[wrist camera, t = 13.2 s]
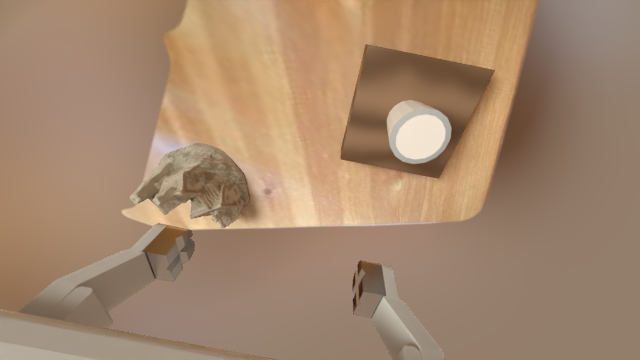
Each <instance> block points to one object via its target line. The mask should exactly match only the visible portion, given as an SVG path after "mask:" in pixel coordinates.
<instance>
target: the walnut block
mask: <svg viewBox="0 0 640 360" xmlns="http://www.w3.org/2000/svg"><path fill="white" fill-rule="evenodd" d="M494 71H495V70H492V69H487V68H482V67H477V66H472V65H467V64H462V63H457V62H452V61H447V60H442V59H437V58H432V57H427V56H422V55H417V54H412V53H407V52H402V51H397V50H392V49H387V48H382V47H377V46H372V45H366V46H365V50H364V54H363V58H362V62H361V67H360V71H359V75H358V79H357V84H356V88H355V92H354V96H353V100H352V105H351V109H350V113H349V117H348V121H347V126H346V130H345V134H344V138H343V143H342V147H341V159H342V160H347V161H352V162H357V163H362V164H367V165H373V166H378V167H383V168H388V169H393V170H398V171H403V172H408V173H413V174H418V175H423V176H428V177H433V178H438V179H439V177H440V175H441V173H442V171H443V169H444V167H445V165H446V163H447V161H448V159H449V158H450V156H451V154H452V152H453V150H454V148H455V146H456V144H457V142H458V140H459V138H460V136H461V134H462V133H463V131H464V129H465V127H466V125H467V123H468V121H469V119H470V117H471V115H472V113H473V111H474V109H475V108H476V106H477V104H478V102H479V100H480V98H481V96H482V94H483V92H484V90H485V88H486V86H487V85H488V83H489V81H490V79H491V77H492V75H493V73H494ZM407 100H414V101H418V102H421V103H423V104H425V105H427V106H430V107H432V108H434V109H436V110H439V111H440V112H441V113H442V114H444V115H445V116H446V117H447V118H448V120H449V123H450V125H451V139H450V141H449V143H448V145H447V146H446V148H445V150H444V151H443V152H442V153H440V154H439V155H438V156H437V157H436V158H434V159H432V160H430V161H427V162H425V163H418V164H411V163H407V162H403V161H401V160H400V159H399V158H397V157H396V156H395V155H394V153H393V151H392V150H391V148H390V143H389V137H388V130H387V117H388V115H389V112H390V111H391V110H392V108H393V107H394V106H395V105H397V104H399V103H400V102H402V101H407Z"/></svg>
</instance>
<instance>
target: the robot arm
mask: <svg viewBox="0 0 640 360" xmlns="http://www.w3.org/2000/svg"><path fill="white" fill-rule="evenodd" d="M192 235H193V234H192V230H189V229H184V228H179V227H175V226H170V225H165V224H160V223H158V224H156V225H154V226H153V227H152V228H151V229H150V230H149V231H148V232H147V233H146V234H145V235H144V236H143V237H142V238H141V239H140V240H139V241H138V242H137V243H136V244H135V245H134V246H133V247H132V248H131V249H130V250H129V249H126V250H123V251H121V252H119V253H116V254H114V255H112V256H109V257H107V258H105V259H103V260H100V261H98V262H96V263H94V264H91V265H89V266H87V267H84V268H82V269H80V270H78V271H75V272H73V273H71V274H69V275H66V276H64V277H62V278H59V279H57V280H55V281H54V282H53V283H52V284H50V285H49V286H48V287H47V288H46V289H44V290H43V291H42V292H41V293H40V294H38V295H37V296H36V297H35V298H34V299H32V300H31V301H30V302H29V303H28V304H26V305H25V306H24V307H23V308H22V309H20V311H18V312H13V311H8V310H2V309H0V360H276V359H271V358H266V357H260V356H254V355H249V354H244V353H238V352H232V351H227V350H222V349H216V348H211V347H205V346H200V345H194V344H188V343H183V342H178V341H172V340H167V339H161V338H156V337H150V336H145V335H139V334H134V333H129V332H123V331H118V330H112V329H109V328H110V326H111V325H112V324H113V319H112V318H111V316H110V315H109V313H108V311H110V310H111V309H112V308H114V307H116V306H117V305H119V304H120V303H121V302H123V301H124V300H126V299H127V298H129V297H130V296H132V295H133V294H135V293H136V292H138V291H139V290H141V289H142V288H144V287H145V286H147V285H148V284H150V283H151V282H153V281H154V280H155V279H159V280H166V281H175V279H176V278H177V276H178V275H179V274H180V272H181V271H182V270H183V266H182V264H184V263H186V262H188V261H189V260H190V258H191V257H192V255H193V252H194V247H195V244H194V241H193V240H192V239H191V237H192ZM357 267H358V270H357V271H355V273H354V277H353V289H352V290H353V292H354V294H355V296H354V298H353V315H358V316H363V317H368V318H372V319H371V320H372V322H373V324H374V326H375V327H376V329H377V331H378V333H379V335H380V337H381V339H382V340H383V342H384V344H385V346H386V348H387V350H388V351H389V354H390V355H391V357H392V359H393V360H445V357H444V354H443V351H442V350H441V349H440V347H439V346H438V345H437V343H436V342H435V341H434V340H433V338H432V337H431V336H430V334H429V333H428V332H427V331H426V329H425V328H424V327H423V326H422V324H421V323H420V322H419V320H418V319H417V318H416V317H415V315H414V314H413V313H412V312H411V310H410V309H409V308H408V306H407V305H406V304H405V303H404V301H402V300H401V299H399V297H398V292H397V287H396V283H395V278H394V273H393V268H392V267H391V266H388V265H383V264H378V263H372V262H366V261H361V260H360V261H359V263H358V265H357Z"/></svg>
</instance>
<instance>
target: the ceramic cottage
mask: <svg viewBox="0 0 640 360" xmlns="http://www.w3.org/2000/svg"><path fill="white" fill-rule="evenodd" d="M147 198H148V199H150V200H151V201H152V202H153V203H154V204H155V205H156V206H157V207H158V208H159V209H160V211H161V212H162V213H163V214H164V215H166V214H168V212H170V211H171V210H172V209H174V208H175V207H177V206H178V205H180V204H181V203H186V202H187V201H188V200H189V199H190V200H191V203H192V205H191V215H190V218H191V219H192V218H197V217H201V216H208V215H213V217H212V220H213V221H214V222H215V223H216V222H217V221H218V222H219V223H220V225H221V228H225V227H227V226H229V224H231V223H233V222H234V221H236V220H237V219H239V218H240V217H241V211H242V208H243V207H244V206H245V205H246V204H247V203H248V202H249V194H248V188H247V182H246V179H245V176H244V174H243V172H242V171H241V170H240V168H239V167H238V166H237V165H235V163H234V161H233V160H232V159H231V158H230V157H229V156H228V155H226V153H225V152H224V151H222V150H220V149H219V148H216V147H214V146H211V145H207V144H201V143H197V144H193V145H190V146H188V147H185V148H181V149H178V150H176V151H173V152H170V153H168V154H166V155H165V156H164V157H163V158H162V159H161V160H160V162H159V166H158V167H157V168H156V169H155V170H154V171H153V173H152V176H151V177H150V178H149V179H148V180H146V181H144V182H143V183H141V184H140V186H139V187H138V189H137V190H136V191H135V192H134V193H133V194H132V195H131V196H130V199H131V200H132V201H133V202H134V203H137V204H138V203H140V202H142V201H144V200H146V199H147Z"/></svg>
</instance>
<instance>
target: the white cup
mask: <svg viewBox="0 0 640 360" xmlns="http://www.w3.org/2000/svg"><path fill="white" fill-rule="evenodd" d="M387 130H388V137H389V143H390V148H391V150H392V151H393V153H394V155H395V156H396V157H397V158H399V159H400V160H401V161H403V162H407V163H411V164H418V163H425V162H427V161H430V160H432V159H434V158H436V157H437V156H438V155H439V154H440V153H442V152H443V151H444V150H445V148H446V146H447V145H448V143H449V141H450V139H451V125H450V123H449V120H448V118H447V117H446V116H445V115H444V114H442V113H441V112H440V111H439V110H436V109H434V108H432V107H430V106H427V105H425V104H423V103H421V102H418V101H414V100H407V101H402V102H400V103H399V104H397V105H395V106H394V107H393V108H392V110H391V111H390V112H389V115H388V117H387Z"/></svg>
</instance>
